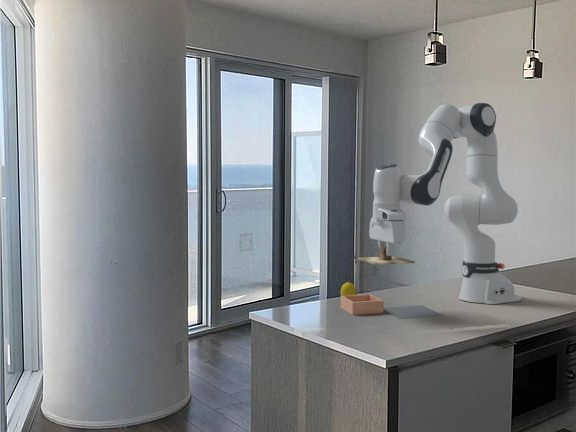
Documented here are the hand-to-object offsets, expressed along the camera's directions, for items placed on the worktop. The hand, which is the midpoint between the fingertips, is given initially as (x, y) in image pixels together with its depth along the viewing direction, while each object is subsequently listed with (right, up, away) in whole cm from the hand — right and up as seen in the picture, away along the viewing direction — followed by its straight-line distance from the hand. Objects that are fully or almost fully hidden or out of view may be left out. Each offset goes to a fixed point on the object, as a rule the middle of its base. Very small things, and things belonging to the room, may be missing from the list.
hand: (385, 254), depth 208 cm
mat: (+9, -20, 0) cm, 22 cm away
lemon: (-11, -19, +18) cm, 28 cm away
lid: (0, -2, 0) cm, 2 cm away
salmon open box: (-8, -20, +3) cm, 21 cm away
